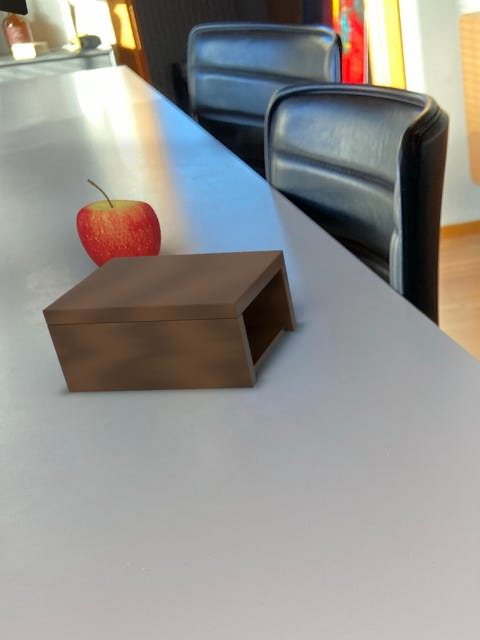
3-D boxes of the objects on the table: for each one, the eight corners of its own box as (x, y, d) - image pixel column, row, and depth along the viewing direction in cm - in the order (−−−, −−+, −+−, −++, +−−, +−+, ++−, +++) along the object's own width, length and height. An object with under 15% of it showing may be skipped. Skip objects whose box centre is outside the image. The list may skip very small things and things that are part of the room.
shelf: (69, 393, 85) (41, 310, 81) (133, 333, 96) (112, 257, 92) (253, 388, 83) (234, 303, 78) (297, 327, 94) (282, 249, 90)
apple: (90, 270, 114) (62, 175, 108) (167, 257, 116) (143, 163, 110) (93, 290, 108) (63, 190, 102) (174, 276, 110) (149, 177, 104)
